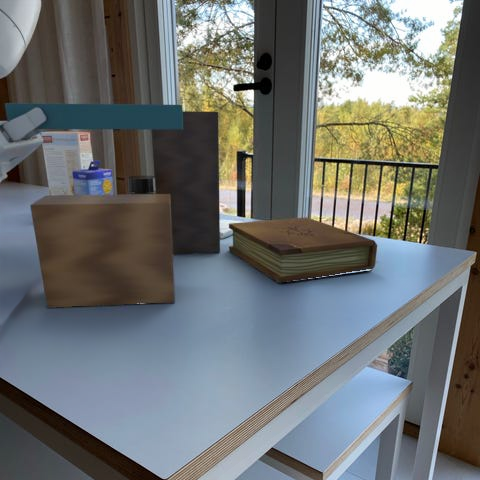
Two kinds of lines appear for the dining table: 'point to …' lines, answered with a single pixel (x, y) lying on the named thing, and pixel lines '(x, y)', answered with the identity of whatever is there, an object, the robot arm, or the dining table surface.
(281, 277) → the diary
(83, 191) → the ink cartridge box
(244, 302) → the dining table surface
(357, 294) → the dining table surface
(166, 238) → the brown wooden block
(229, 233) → the hard drive
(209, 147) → the stand
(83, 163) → the cracker box
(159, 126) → the teal bar
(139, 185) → the ink bottle
